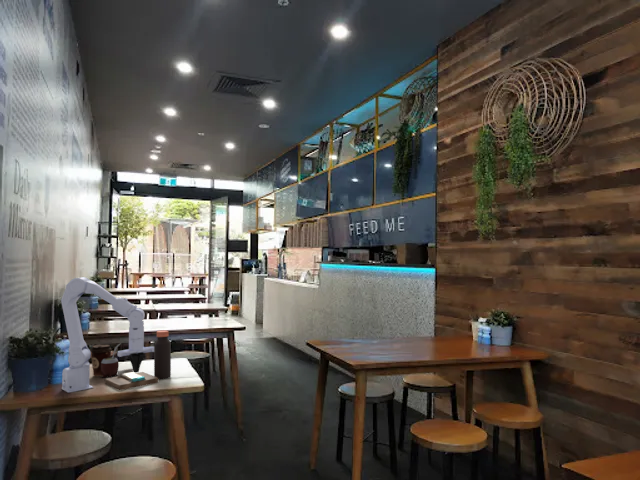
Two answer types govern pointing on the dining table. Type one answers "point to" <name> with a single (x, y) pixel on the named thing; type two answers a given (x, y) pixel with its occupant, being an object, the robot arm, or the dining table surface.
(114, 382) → the base plate
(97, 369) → the dark brown jar
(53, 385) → the dining table surface
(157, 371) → the bottle
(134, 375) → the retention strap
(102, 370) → the mate gourd
